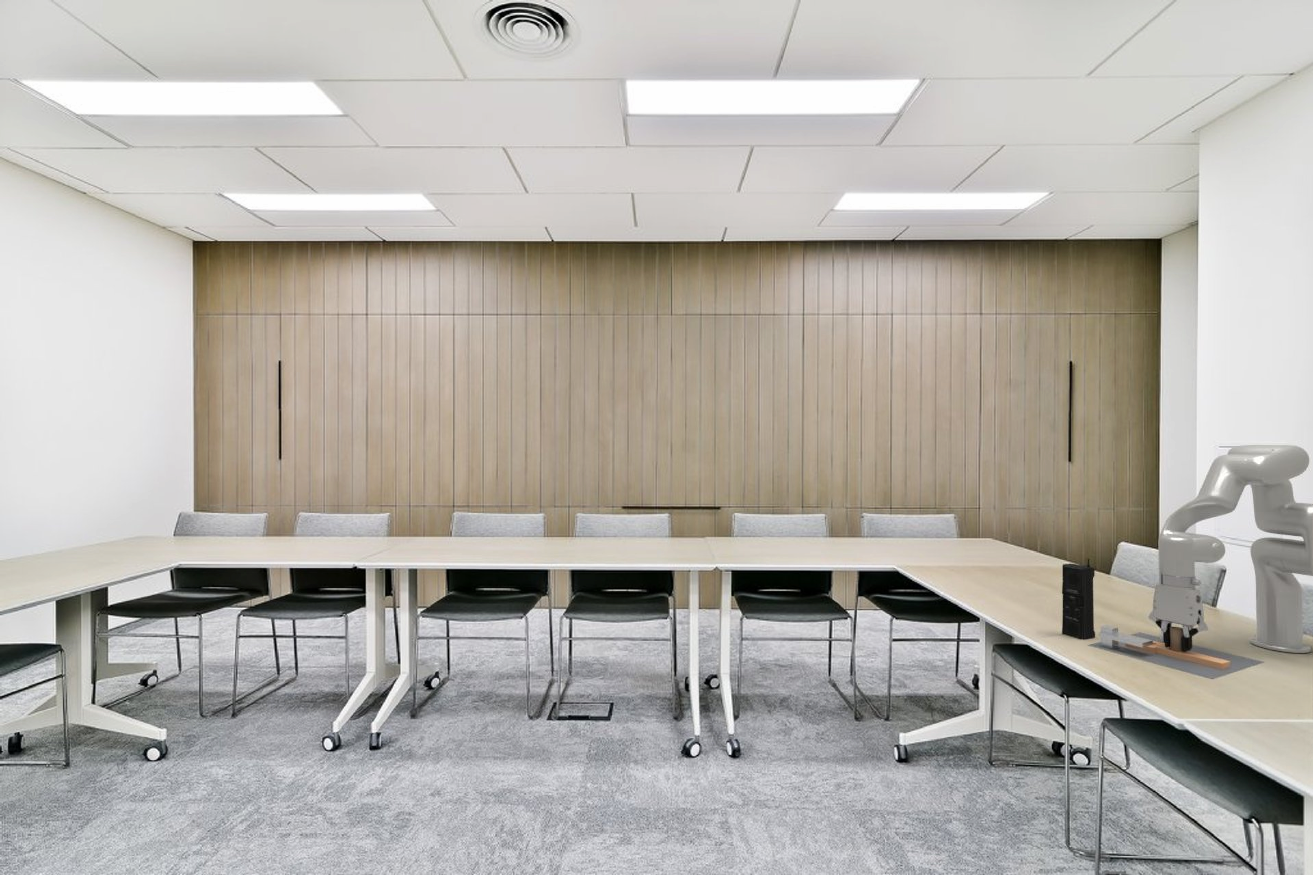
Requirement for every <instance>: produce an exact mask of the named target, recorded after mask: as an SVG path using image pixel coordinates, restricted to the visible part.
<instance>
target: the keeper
mask: <svg viewBox="0 0 1313 875" xmlns="http://www.w3.org/2000/svg"><path fill="white" fill-rule="evenodd" d="M1098 637H1100V642H1101V646H1104V647H1108V648H1112V649H1113V648H1117V647H1118V641H1119V642H1123V643H1127V644H1131V645H1134V646H1138V647H1142V648H1143V647H1147V646H1150V645H1153V640H1149V639H1144V638H1140V637H1136V636H1132V635H1131V634H1127V633H1123V632H1119V627H1116V626H1113V625H1108V624H1106V625H1101V626H1100V631H1099V632H1098Z"/></svg>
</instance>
